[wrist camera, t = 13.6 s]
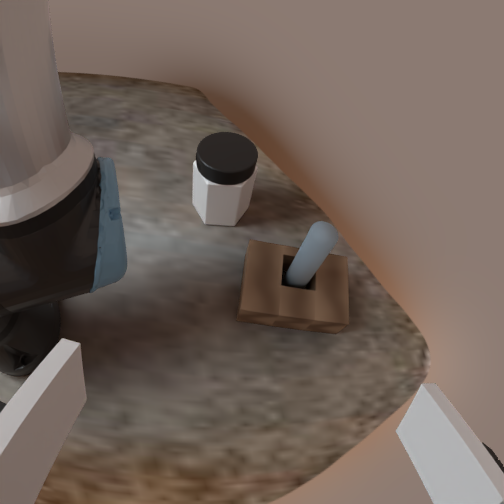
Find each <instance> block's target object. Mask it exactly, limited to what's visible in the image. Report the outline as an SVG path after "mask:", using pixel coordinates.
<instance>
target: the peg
mask: <svg viewBox="0 0 504 504" xmlns="http://www.w3.org/2000/svg"><path fill="white" fill-rule="evenodd" d="M337 241H338V233H337V230H336V229H335V228H334V227H333V226H332V225H331V224H329V223H327V222H323V221H319V222H316V223H314V224H313V225H312V226H311V228H310V230H309V232H308V234H307V236H306V238H305V239H304V241H303V243H302V245H301V247H300V249H299V251H298V252H297V254H296V256H295V258H294V260H293V262H292V263H291V265H290V267H289V269H288V271H287V272H286V274H285V276H284V278H283V280H282V282H281V286H287V287H294V288H300V289H304V288H305V286H306V285H307V284H308V282H309V281H310V279H311V278H312V277H313V275H314V274H315V272H316V271H317V270H318V268H319V267H320V265H321V264H322V263H323V261H324V260H325V258H326V257H327V256H328V254H329V253H330V251H331V250H332V248H333V247H334V246H335V244H336V243H337Z"/></svg>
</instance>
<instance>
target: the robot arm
mask: <svg viewBox="0 0 504 504" xmlns="http://www.w3.org/2000/svg"><path fill="white" fill-rule="evenodd" d="M120 211H121V210H120V203H119V192H118V185H117V178H116V171H115V166H114V162H113V160H112V159H111V158H103V157H98V158H97V159H96V158H95V154H94V150H93V147H92V145H91V143H90V141H89V140H88V139H86V138H85V137H83V136H81V135H78V134H75V133H73V132H71V131H70V129H69V125H68V120H67V116H66V112H65V107H64V102H63V97H62V92H61V87H60V82H59V77H58V71H57V65H56V58H55V52H54V45H53V37H52V29H51V20H50V9H49V0H0V371H1V372H3V373H6V374H9V375H13V376H22V375H27V374H29V373H32V372H33V373H32V374H31V375H30V376H29V378H28V379H27V380H26V381H25V382H24V384H23V385H22V386H21V387H20V389H19V390H18V391H17V392H16V393H15V395H14V396H13V397H12V398H11V400H10V401H9V402H8V404H5V403H3V402H1V401H0V504H34V503H35V500H36V498H37V496H38V494H39V492H40V490H41V488H42V485H43V483H44V481H45V479H46V477H47V475H48V473H49V471H50V469H51V467H52V465H53V463H54V461H55V459H56V457H57V455H58V453H59V451H60V449H61V447H62V445H63V443H64V441H65V439H66V438H67V436H68V434H69V432H70V430H71V428H72V426H73V424H74V422H75V421H76V419H77V417H78V415H79V413H80V411H81V410H82V408H83V406H84V404H85V402H86V401H87V396H86V389H85V382H84V374H83V365H82V356H81V345H80V343H78V342H74V341H71V340H67V339H64V338H62V339H61V340H60V341H59V343H58V344H57V345H56V343H57V340H58V336H59V332H60V311H59V307H58V303H57V301H60V300H64V299H67V298H71V297H74V296H78V295H82V294H85V293H92V292H94V291H95V290H96V289H98V288H101V287H103V286H106V285H109V284H112V283H114V282H117V281H118V280H120V279H121V278H122V277H123V276H124V274H125V272H126V269H127V253H126V245H125V237H124V230H123V223H122V217H121V214H120ZM396 432H397V434H398V436H399V438H400V440H401V442H402V444H403V446H404V447H405V449H406V451H407V453H408V455H409V457H410V459H411V461H412V463H413V465H414V466H415V468H416V470H417V472H418V474H419V476H420V478H421V480H422V482H423V484H424V486H425V488H426V490H427V492H428V494H429V496H430V498H431V500H432V502H433V504H504V467H503V464H502V463H501V462H500V460H498V457H497V456H496V455H495V453H494V452H493V451H492V450H491V449H490V448H489V447H488V446H486V445H485V444H484V443H481V441H480V440H479V439H478V437H477V436H476V435H475V433H474V432H473V431H472V429H471V428H470V427H469V425H468V424H467V423H466V422H465V420H464V419H463V418H462V416H461V415H460V414H459V412H458V411H457V410H456V409H455V407H454V406H453V405H452V403H451V402H450V401H449V400H448V398H447V397H446V396H445V395H444V393H443V392H442V391H441V390H440V389H439V387H438V386H437V385H436V383H422V384H421V386H420V388H419V390H418V392H417V394H416V396H415V398H414V399H413V402H412V403H411V405H410V407H409V409H408V411H407V412H406V414H405V416H404V418H403V419H402V421H401V423H400V425H399V426H398V428H397V430H396Z"/></svg>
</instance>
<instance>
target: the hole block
mask: <svg viewBox="0 0 504 504" xmlns="http://www.w3.org/2000/svg"><path fill="white" fill-rule="evenodd" d="M299 249H300V248H295V247H290V246H284V245H278V244H273V243H267V242H262V241H256V240H249V244H248V248H247V251H246V255H245V261H244V269H243V276H242V283H241V290H240V298H239V305H238V312H237V320H236V321H241V322H247V323H254V324H261V325H268V326H275V327H282V328H290V329H297V330H305V331H313V332H322V333H331V334H336V333H338V332H339V331H341V330H342V329H343V328H345V327H346V326H347V325H349V291H348V263H347V257H344V256H339V255H334V254H328V256H327V257H326V258H325V260H324V261H323V263H322V264H321V265H320V267H319V268H318V270H317V271H316V272H315V274H314V275H313V277H312V278H311V279H310V281H309V282H308V284H307V285H306V289H300V288H294V287H287V286H281V281H282V271H288V269H289V267H290V265H291V263H292V262H293V260H294V258H295V256H296V254H297V252H298V251H299Z"/></svg>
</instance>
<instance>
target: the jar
mask: <svg viewBox="0 0 504 504" xmlns="http://www.w3.org/2000/svg"><path fill="white" fill-rule="evenodd" d="M257 158H258V152H257V149H256V147H255V145H254V144H253V143H252V142H251V141H250V140H249V139H247V138H246V137H244V136H242V135H239V134H236V133H231V132H219V133H214V134H211V135H209V136H207V137H205V138H204V139H203V140H202V141H201V142H200V143H199V145H198V147H197V153H196V160H195V161H194V162H193V205H194V207H195V208H196V210H197V212H198V213H199V215H200V217H201V218H202V220H203V222H204V223H205V224H208V225H224V226H235V225H236V223H237V222H238V221H239V219H240V218H241V217H242V215H243V214H244V213H245V211H246V210H247V209H248V207H249V203H250V199H251V195H252V191H253V187H254V182H255V178H256V174H257V170H258V167H257V165H256V162H257Z"/></svg>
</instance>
